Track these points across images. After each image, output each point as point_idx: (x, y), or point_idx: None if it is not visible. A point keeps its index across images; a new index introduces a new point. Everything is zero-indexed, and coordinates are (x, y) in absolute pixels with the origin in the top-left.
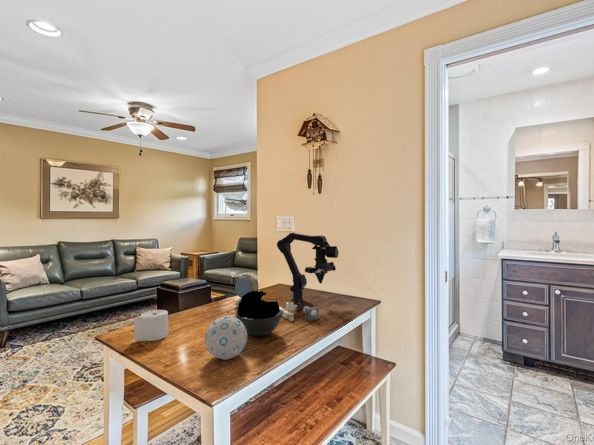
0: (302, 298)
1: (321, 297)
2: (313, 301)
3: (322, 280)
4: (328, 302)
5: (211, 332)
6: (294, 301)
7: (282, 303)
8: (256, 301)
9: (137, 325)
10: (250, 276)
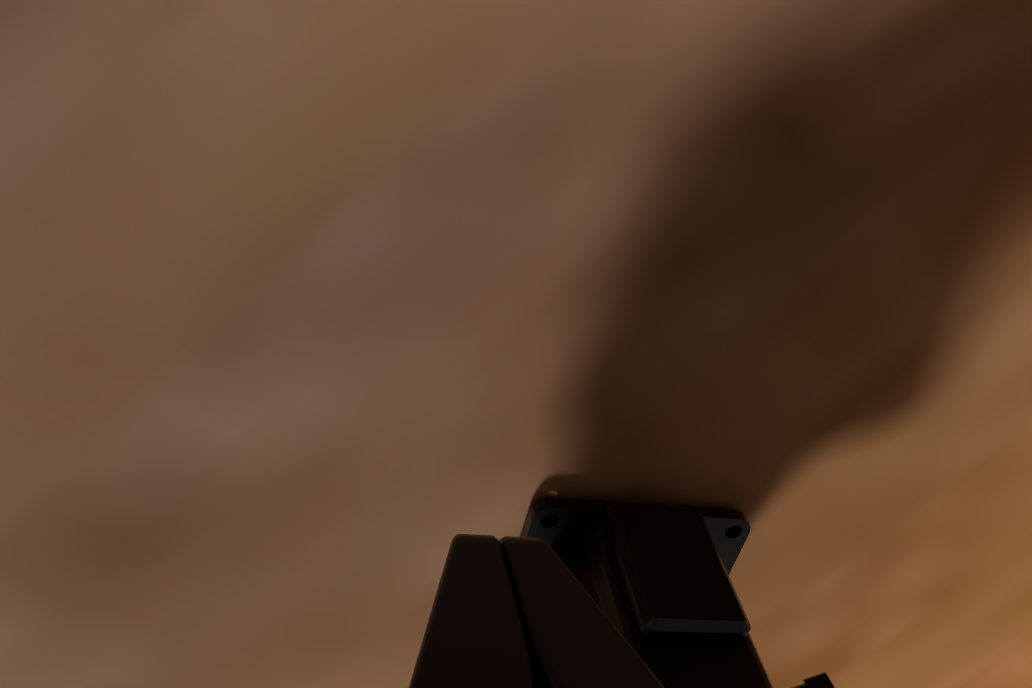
0: (614, 534)
1: (8, 474)
2: (420, 358)
3: (432, 670)
4: (135, 35)
5: None
6: (733, 546)
7: (931, 575)
8: None
9: None
10: None
